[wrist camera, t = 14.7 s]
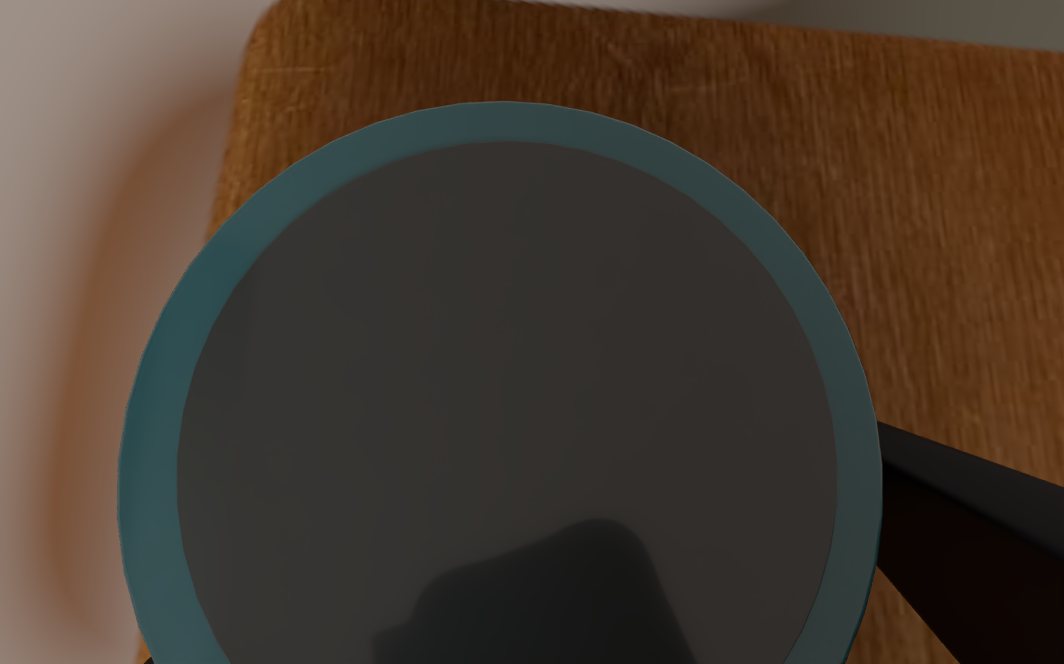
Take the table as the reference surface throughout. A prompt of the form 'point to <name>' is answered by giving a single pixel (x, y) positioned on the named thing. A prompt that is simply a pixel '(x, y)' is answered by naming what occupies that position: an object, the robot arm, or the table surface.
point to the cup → (500, 414)
